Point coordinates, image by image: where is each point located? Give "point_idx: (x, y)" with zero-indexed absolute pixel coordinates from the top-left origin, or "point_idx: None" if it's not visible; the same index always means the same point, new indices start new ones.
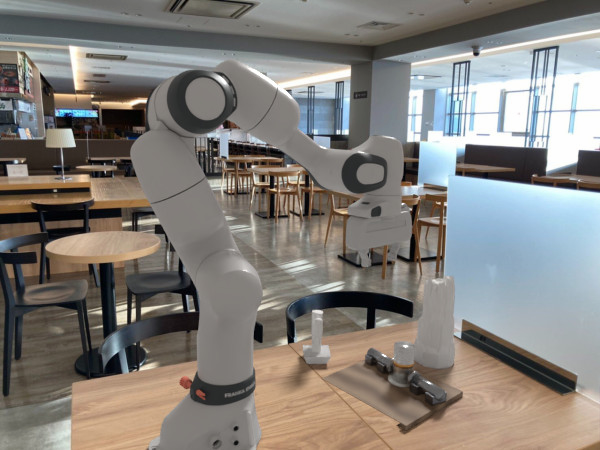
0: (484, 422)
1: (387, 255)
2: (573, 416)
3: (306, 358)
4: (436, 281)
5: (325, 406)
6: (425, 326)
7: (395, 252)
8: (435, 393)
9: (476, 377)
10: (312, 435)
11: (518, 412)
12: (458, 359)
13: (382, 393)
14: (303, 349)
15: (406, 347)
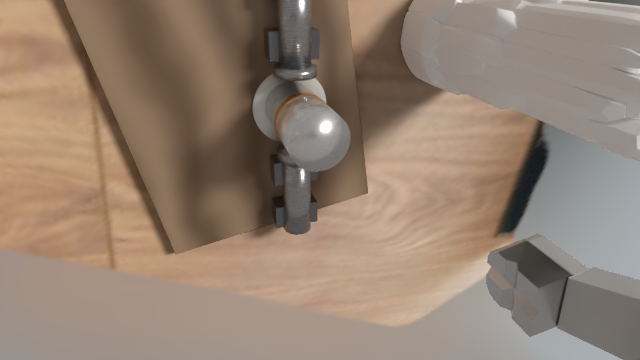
0: (326, 261)
1: (519, 270)
2: (448, 280)
3: None
4: None
5: (22, 109)
6: (477, 57)
7: (570, 329)
8: (287, 227)
9: (446, 142)
10: None
11: (396, 254)
12: None
13: (201, 139)
14: None
15: (314, 157)
